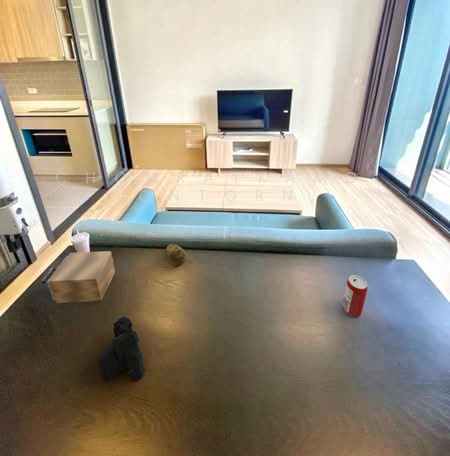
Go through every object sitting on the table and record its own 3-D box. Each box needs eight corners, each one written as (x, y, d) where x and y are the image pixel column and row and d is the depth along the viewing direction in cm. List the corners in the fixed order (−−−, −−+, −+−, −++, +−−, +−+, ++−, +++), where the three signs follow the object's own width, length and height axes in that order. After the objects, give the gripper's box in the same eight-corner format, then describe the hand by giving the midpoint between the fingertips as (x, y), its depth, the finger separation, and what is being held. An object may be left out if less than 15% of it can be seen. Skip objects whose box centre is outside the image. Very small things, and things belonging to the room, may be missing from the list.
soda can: (364, 312, 78) (372, 283, 74) (354, 321, 75) (361, 291, 71) (348, 299, 82) (354, 271, 78) (338, 307, 80) (344, 278, 75)
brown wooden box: (56, 303, 82) (48, 281, 78) (75, 273, 94) (70, 252, 90) (101, 301, 82) (96, 279, 79) (115, 271, 94) (111, 251, 91)
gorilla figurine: (95, 349, 69) (88, 326, 65) (131, 328, 74) (126, 306, 71) (108, 406, 57) (101, 382, 54) (149, 376, 62) (145, 352, 59)
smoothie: (72, 261, 99) (63, 232, 94) (83, 250, 105) (76, 222, 100) (86, 263, 98) (79, 233, 93) (97, 251, 104) (90, 223, 99)
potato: (187, 249, 105) (186, 233, 102) (187, 272, 93) (186, 255, 90) (167, 251, 104) (165, 235, 101) (165, 275, 92) (163, 258, 89)
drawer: (39, 300, 82) (33, 282, 79) (59, 273, 92) (54, 256, 90) (94, 297, 83) (90, 280, 80) (108, 271, 93) (104, 254, 90)
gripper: (33, 193, 79) (46, 241, 85) (-17, 194, 78) (1, 242, 84) (15, 206, 72) (31, 257, 78) (-40, 207, 71) (-19, 258, 77)
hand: (15, 249), depth 81 cm, fingers closed
